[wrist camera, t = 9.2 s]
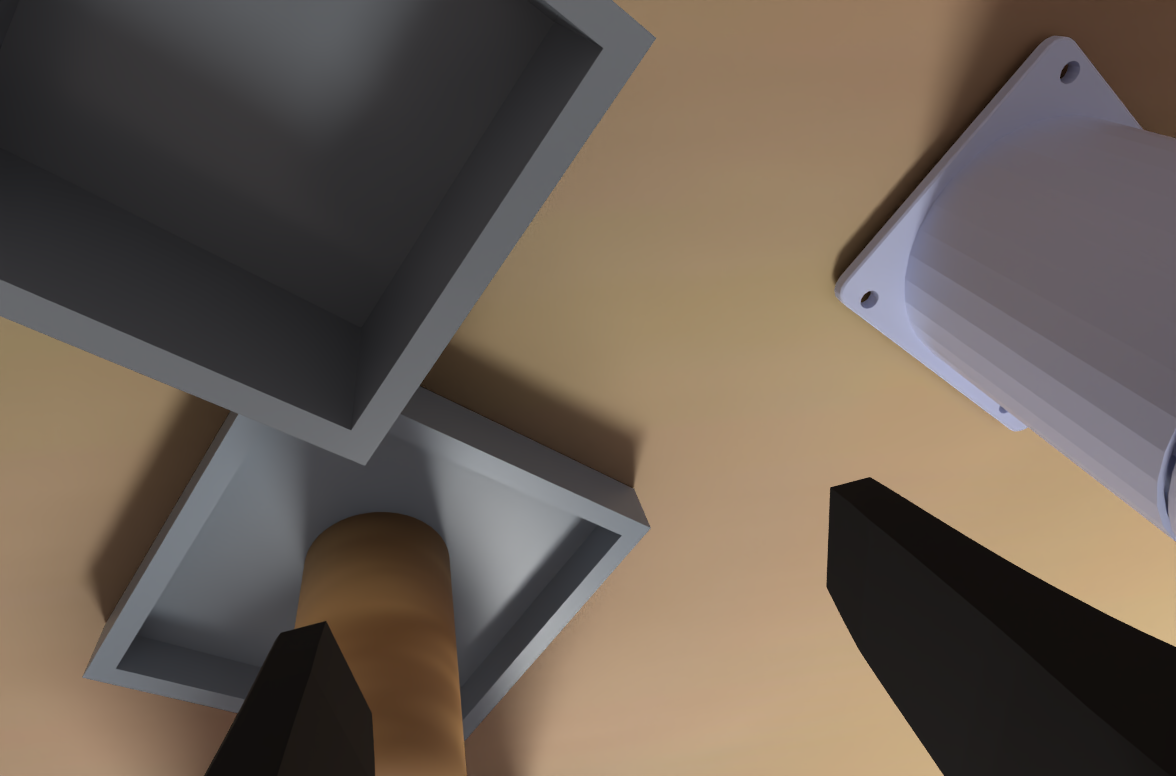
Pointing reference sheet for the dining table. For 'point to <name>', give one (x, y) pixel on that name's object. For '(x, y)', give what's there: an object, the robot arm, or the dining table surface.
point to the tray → (346, 488)
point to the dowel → (393, 635)
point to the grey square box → (286, 184)
